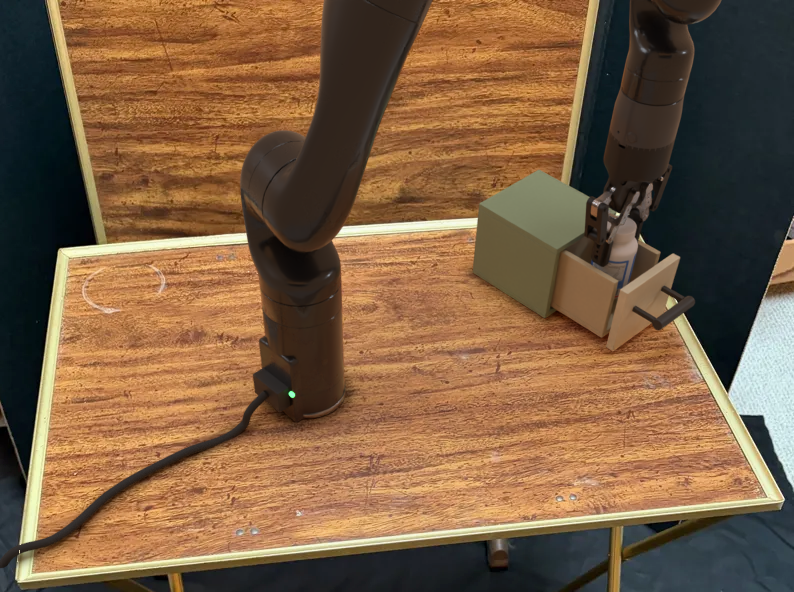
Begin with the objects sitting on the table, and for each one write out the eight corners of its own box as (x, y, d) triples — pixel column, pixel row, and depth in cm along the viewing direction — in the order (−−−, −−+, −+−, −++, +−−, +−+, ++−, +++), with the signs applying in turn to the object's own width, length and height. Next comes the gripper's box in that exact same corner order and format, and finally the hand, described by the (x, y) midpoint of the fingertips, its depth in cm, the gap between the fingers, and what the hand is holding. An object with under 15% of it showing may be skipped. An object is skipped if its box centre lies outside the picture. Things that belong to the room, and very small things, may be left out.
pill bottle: (603, 270, 131) (618, 206, 123) (635, 288, 129) (652, 225, 121) (577, 287, 129) (590, 223, 121) (609, 306, 126) (624, 242, 119)
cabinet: (601, 280, 137) (616, 211, 128) (544, 318, 132) (557, 249, 123) (528, 237, 143) (539, 169, 134) (472, 272, 138) (479, 203, 129)
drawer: (692, 332, 129) (711, 274, 122) (642, 370, 125) (659, 312, 117) (591, 272, 137) (603, 214, 129) (540, 306, 132) (550, 248, 125)
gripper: (655, 94, 116) (625, 218, 129) (577, 137, 110) (555, 263, 123) (707, 119, 113) (671, 243, 126) (630, 165, 106) (601, 291, 120)
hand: (614, 253), depth 124 cm, fingers closed on pill bottle, 5 cm apart
